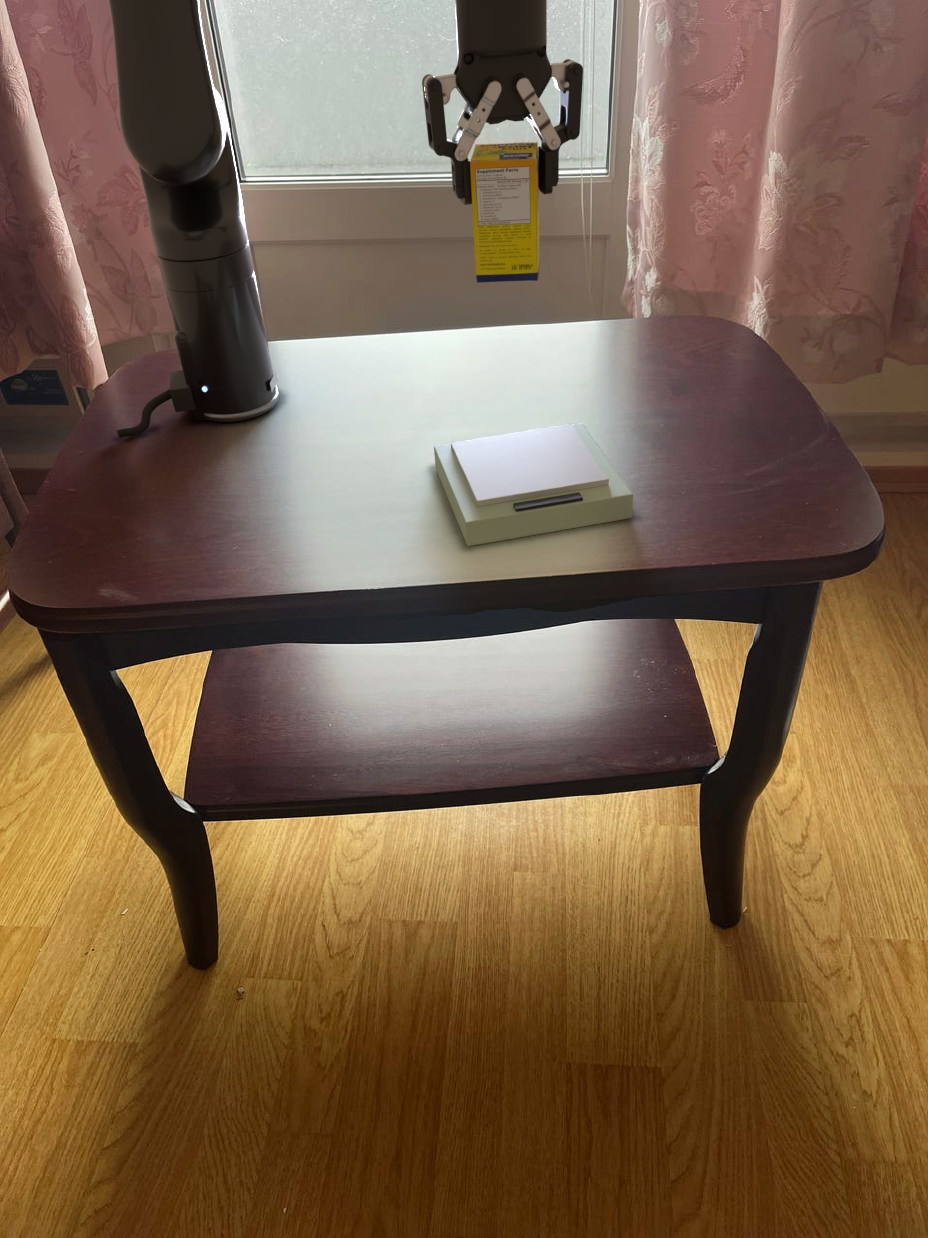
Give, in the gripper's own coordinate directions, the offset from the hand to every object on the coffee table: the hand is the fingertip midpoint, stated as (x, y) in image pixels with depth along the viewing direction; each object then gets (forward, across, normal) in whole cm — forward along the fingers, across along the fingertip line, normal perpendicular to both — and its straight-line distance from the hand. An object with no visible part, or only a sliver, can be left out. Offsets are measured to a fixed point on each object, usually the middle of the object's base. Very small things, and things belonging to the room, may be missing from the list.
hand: (505, 196), depth 87 cm
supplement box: (+7, 0, 0) cm, 7 cm away
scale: (+22, +3, +16) cm, 27 cm away
